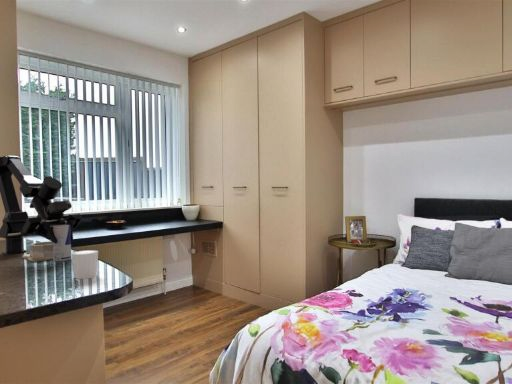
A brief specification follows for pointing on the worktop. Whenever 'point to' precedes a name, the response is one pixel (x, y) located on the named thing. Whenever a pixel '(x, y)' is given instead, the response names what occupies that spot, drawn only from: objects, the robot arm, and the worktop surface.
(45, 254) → the cup bracket
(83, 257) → the white cup
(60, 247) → the energy drink
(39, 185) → the robot arm
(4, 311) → the worktop surface
